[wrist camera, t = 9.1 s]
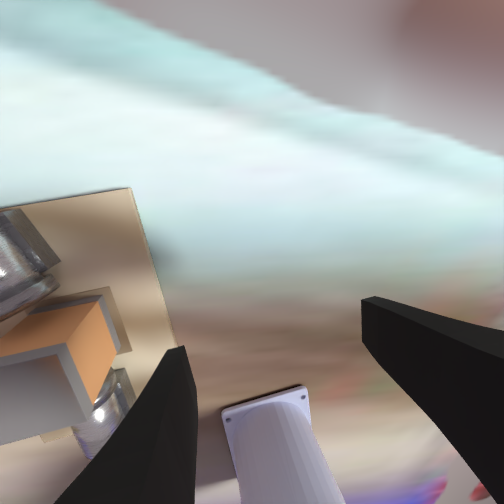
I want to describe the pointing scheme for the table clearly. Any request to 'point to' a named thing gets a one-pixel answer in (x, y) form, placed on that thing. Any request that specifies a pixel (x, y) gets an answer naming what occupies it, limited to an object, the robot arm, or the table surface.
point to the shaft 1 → (23, 264)
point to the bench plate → (105, 276)
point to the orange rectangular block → (54, 367)
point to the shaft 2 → (106, 412)
